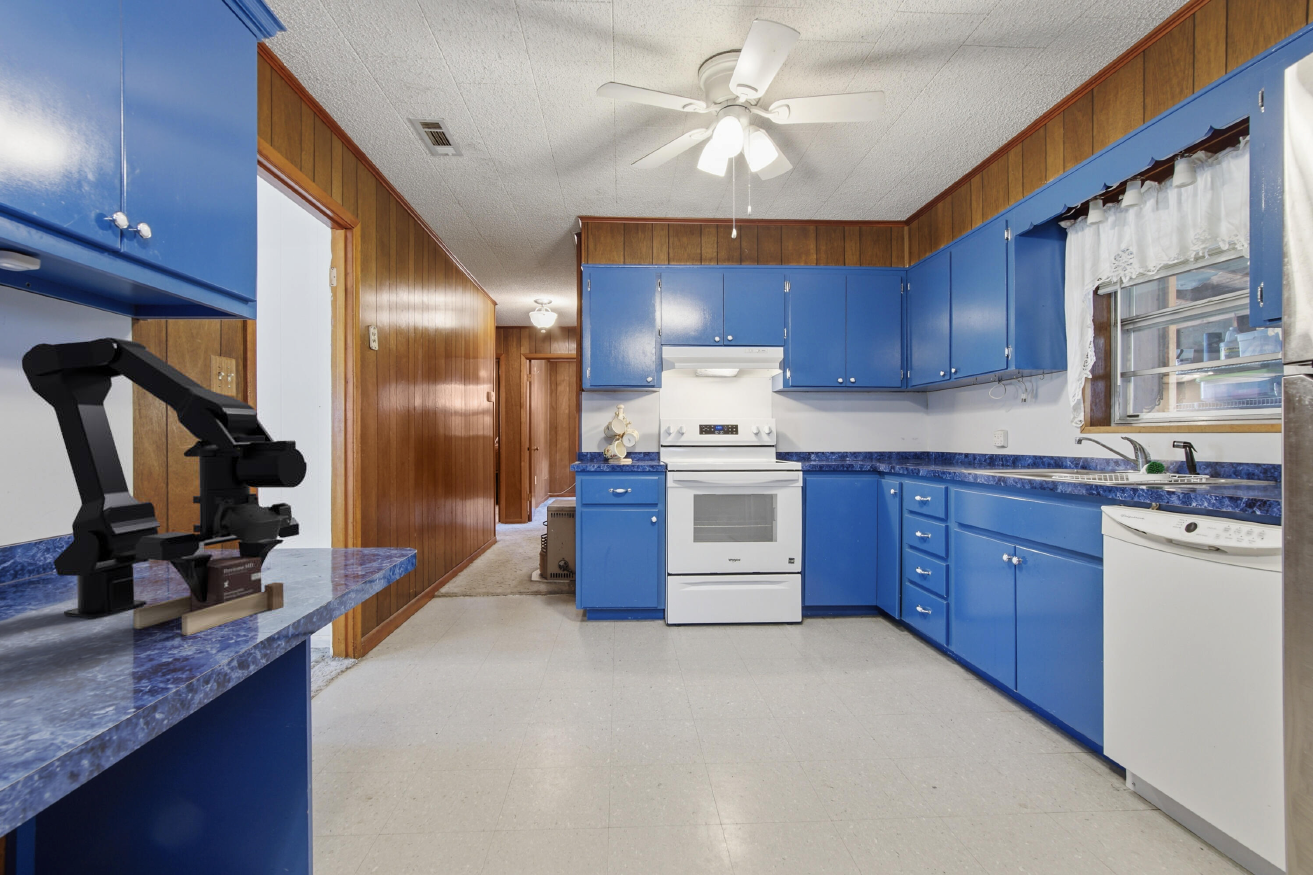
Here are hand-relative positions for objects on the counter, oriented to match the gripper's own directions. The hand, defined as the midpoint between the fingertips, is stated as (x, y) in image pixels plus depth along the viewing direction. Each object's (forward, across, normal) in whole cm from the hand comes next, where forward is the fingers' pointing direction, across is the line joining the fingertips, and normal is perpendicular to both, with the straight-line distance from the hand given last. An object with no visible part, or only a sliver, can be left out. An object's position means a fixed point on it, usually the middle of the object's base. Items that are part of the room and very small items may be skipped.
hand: (226, 595), depth 77 cm
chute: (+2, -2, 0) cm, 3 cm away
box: (+2, 0, 0) cm, 2 cm away
